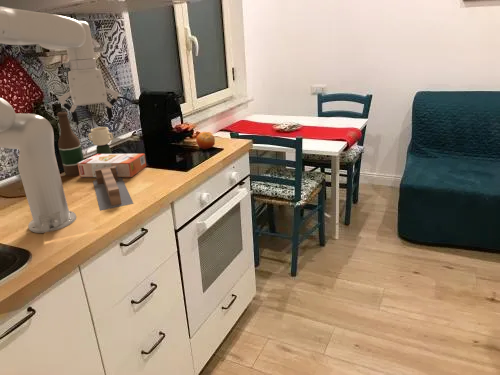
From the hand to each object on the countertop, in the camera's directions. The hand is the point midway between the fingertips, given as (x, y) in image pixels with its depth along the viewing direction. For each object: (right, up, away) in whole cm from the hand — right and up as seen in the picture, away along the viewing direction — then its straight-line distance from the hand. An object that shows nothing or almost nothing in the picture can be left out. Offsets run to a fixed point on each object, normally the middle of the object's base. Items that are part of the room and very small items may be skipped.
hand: (93, 122), depth 130 cm
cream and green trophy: (-13, -8, +48) cm, 50 cm away
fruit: (+30, -3, +53) cm, 61 cm away
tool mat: (+3, -22, +9) cm, 24 cm away
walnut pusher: (+3, -22, +8) cm, 24 cm away
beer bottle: (-19, -15, +31) cm, 39 cm away
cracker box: (+7, -12, +26) cm, 29 cm away
